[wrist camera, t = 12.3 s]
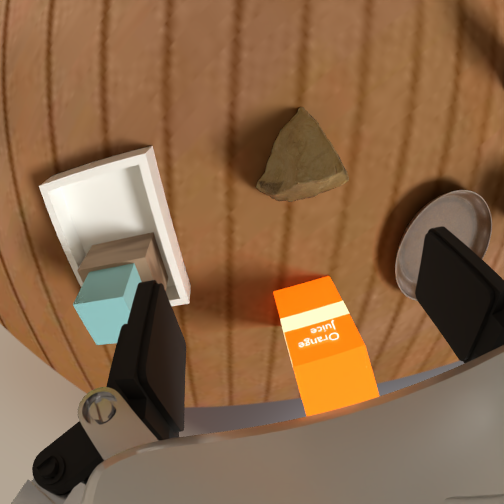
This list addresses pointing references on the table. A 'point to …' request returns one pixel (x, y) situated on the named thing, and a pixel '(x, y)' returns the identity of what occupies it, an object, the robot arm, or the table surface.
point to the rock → (301, 162)
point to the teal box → (107, 301)
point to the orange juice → (324, 347)
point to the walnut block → (127, 257)
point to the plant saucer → (451, 217)
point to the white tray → (115, 211)
